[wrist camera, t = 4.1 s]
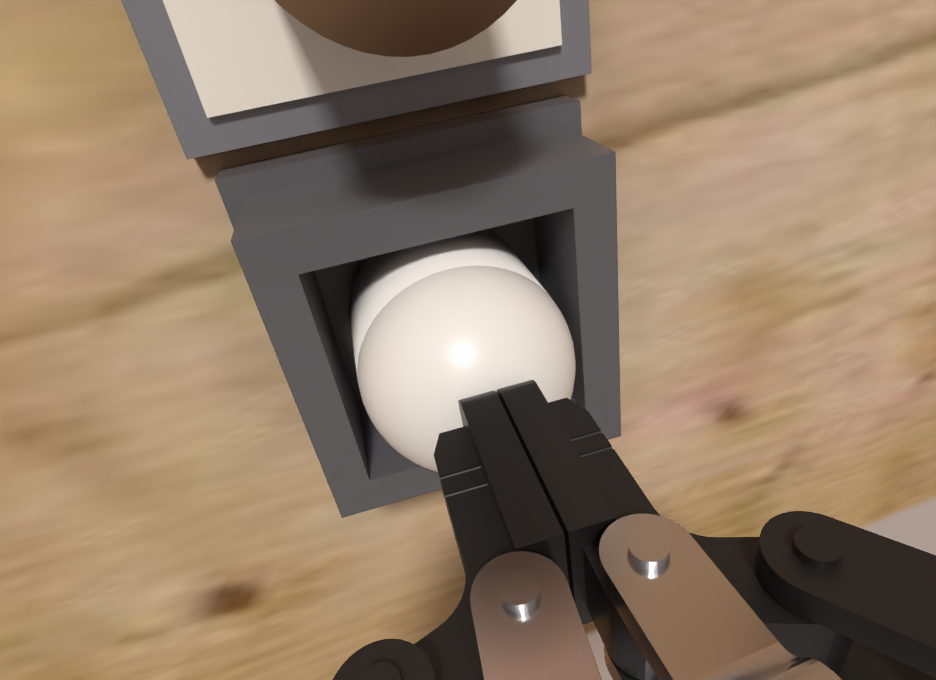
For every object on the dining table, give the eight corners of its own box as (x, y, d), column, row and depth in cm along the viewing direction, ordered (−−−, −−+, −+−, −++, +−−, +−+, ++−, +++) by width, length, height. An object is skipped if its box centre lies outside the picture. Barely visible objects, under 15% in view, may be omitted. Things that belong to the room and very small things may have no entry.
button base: (324, 441, 19) (328, 535, 16) (220, 169, 14) (194, 222, 11) (582, 370, 20) (637, 444, 17) (565, 94, 15) (637, 122, 12)
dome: (374, 402, 17) (399, 551, 12) (325, 245, 14) (335, 362, 10) (535, 358, 18) (616, 486, 13) (517, 200, 15) (611, 290, 10)
